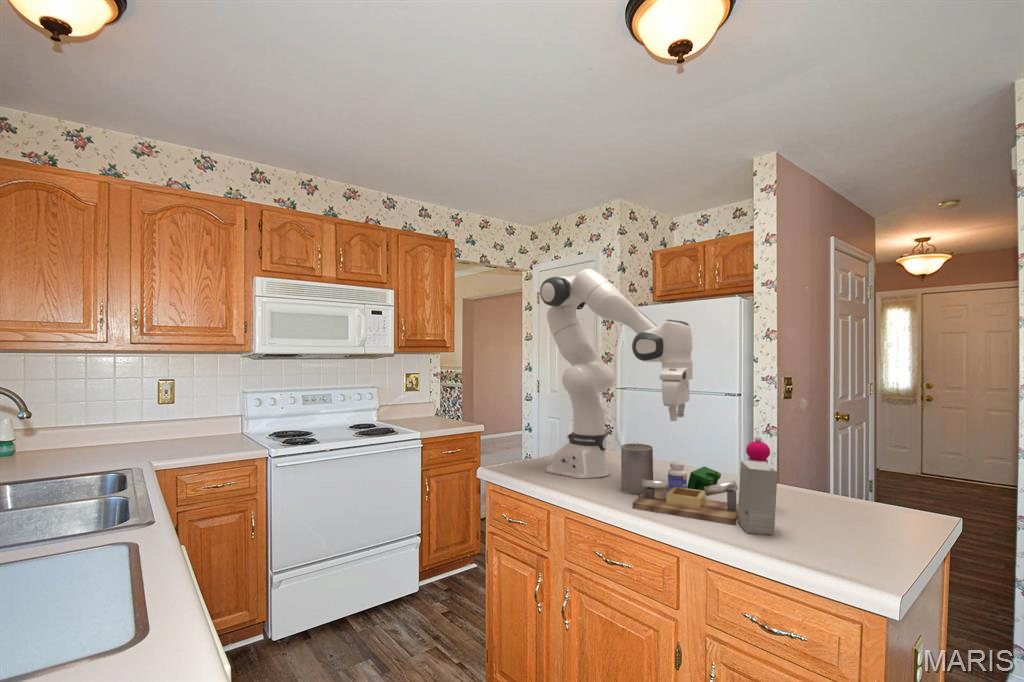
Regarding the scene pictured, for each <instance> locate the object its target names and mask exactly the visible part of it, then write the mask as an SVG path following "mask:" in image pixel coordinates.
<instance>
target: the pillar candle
mask: <svg viewBox="0 0 1024 682" xmlns="http://www.w3.org/2000/svg"><path fill="white" fill-rule="evenodd" d="M620 449H621V450H620V455H621V459H620V461H621V463H620V465H621V470H620V471H621V472H620V473H621V477H620V478H621V479H620V480H621V481H620V482H621V483H620V485H621V491H622V490H623V491H625V492H624V493H626V492H628V493H627V494H629V493H632V494H631V495H642V494H643V493H644V492H645V491H646V488H645V487H642V480H643V479H650V480H654V455H653V452H654V449H653V446H652V445H649V444H645V443H644V444H643V443H638V442H636V443H625V444H622V445H621V447H620ZM623 491H622V492H623Z"/></svg>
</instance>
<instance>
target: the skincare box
mask: <svg viewBox="0 0 1024 682" xmlns="http://www.w3.org/2000/svg"><path fill="white" fill-rule="evenodd" d="M739 471H740V472H739V488H738V490H739V492H738V503H737V504H738V519H737V523H738V524H739V525H740V526H741V528H742V529H743V530H744V532H746V533H747V534H757V535H767V534H772V535H771V536H774V535H775V526H776V523H775V522H776V508H777V507H776V506H777V492H778V491H777V488H778V474H779V473H778V470H777V469H775V468H774V466H773V465H771V464H769V462H768V463H766V462H756V461H749V460H743V459H742V460H740V470H739Z"/></svg>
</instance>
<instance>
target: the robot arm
mask: <svg viewBox="0 0 1024 682" xmlns="http://www.w3.org/2000/svg"><path fill="white" fill-rule="evenodd" d="M539 294H540V298H541V300H542V302H543V303H544V304H546V305H547V306H549V309H548V310H547V312H546V320H547V323H548V326H549V329H550V332H551V336H553V339H554V342H555V344H556V346H557V348H558V351H559V352H560V355H561V356H562V358H564V359H565V360H566V361H567V362H568V363H569V364H570V365H571V366H569V367H568V368H566V369H565V370H564V372H563V374H562V379H561V382H562V386H563V387H564V389H565V391H567V393H568V395H569V399H570V403H571V406H572V414H573V416H572V417H573V431H572V432H571V433H569V434H567V435H566V438H567V439H568V442H567V443H566V444H565V445H563V446H562V447H560V448H559V449H558V450H556V452H554V455H553V458H552V463H551V464H550V465H548V466H546V468H545V472H546V473H551V474H555V475H560V474H561V475H560V476H564V475H565V477H569V476H571V477H570V478H574V477H575V479H588V478H592V479H593V478H601V477H603V478H604V477H607V476H609V475H610V470H609V466H608V460H607V455H606V454H607V452H606V450H607V434H606V413H605V410H604V408H603V407H602V405H601V402H600V397H599V394H601V393H604V392H605V391H608V389H610V388H611V387H612V386H613V384H614V382H615V373H614V371H613V369H612V368H611V367H610V366H608V365H607V364H606V363H605V362H604V361H603V359H602V358H601V356H600V355H599V354H598V353H597V351H596V350H595V349H594V347H593V345H591V343H590V341H589V339H588V337H587V335H586V333H585V330H584V328H583V327H582V324H581V323H580V321H579V319H578V316H577V310H582V309H583V308H584V306H585V305H586V306H587V307H588V308H589V309H590V310H591V311H592V312H594V314H596V315H598V317H600V318H602V319H606V320H609V321H613V322H618V323H620V324H623V325H625V326H627V327H629V328H630V329H631V330H632V331H633V332H634V333H636V335H635V336H634V338H633V340H632V344H631V349H632V353H633V355H634V356H635V358H636V359H637V360H639V361H641V362H646V363H649V362H650V363H651V362H652V363H655V362H658V363H661V370H660V373H659V380H660V381H661V396H662V403H663V406H664V407H668V413H669V421H671V422H676V421H678V418H684V417H685V408H686V403H687V402H690V398H691V395H690V380H692V379H693V378H694V377H693V360H692V351H693V336H692V335H693V334H692V329H691V325H690V324H689V323H688V322H686V321H682V320H676V319H665V320H663V322H661V323H660V324H659V325H657V324H656V323H654V322H653V321H652V320H651V319H649V317H647V315H645V314H644V313H643V312H642V311H640V310H639V309H638V308H637V307H636V306H634V304H633V303H632V302H630V301H629V300H628V298H626V297H625V296H624V295H623V294H622V293H621V292H620V290H619V289H618V288H617V287H616V286H615V285H614V284H613V283H611V282H610V281H609V279H607V278H606V277H605V276H603V275H602V274H600V273H599V272H598V271H596V270H595V269H592V268H585V269H582V270H580V271H579V272H578V273H577V274H576V275H561V276H552V277H549V278H548V277H547V279H545V280H544V281H542V283H541V286H540V290H539Z"/></svg>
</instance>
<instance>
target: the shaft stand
mask: <svg viewBox="0 0 1024 682" xmlns="http://www.w3.org/2000/svg"><path fill="white" fill-rule="evenodd" d="M642 487H645V488H646V491H645V492H644V493H643V494H640V495H639V496H638V497H637V498H636V499H635V500H634V501H633V502H632V503H631V504H632V509H635V508H637V509H636V510H641V509H644V510H643V511H647V510H650V511H649V512H653V511H656V512H655V513H659V512H661V513H660V514H665V513H667V514H666V515H671V514H672V515H673V516H677V515H678V516H679V517H683V516H684V517H683V518H689V517H690V519H695V518H696V520H702V521H708V522H713V523H722V524H725V523H726V524H727V525H732V526H736V523H737V522H738V520H737V519H738V503H737V491H738V490H739V488H738V485H737V482H736V480H730V481H726V482H722V483H717V484H716V485H711V486H707V487H704V490H702V489H697V490H695V489H688V488H681V487H673V488H672V489H671V490H670V491H669V492H668V489H669V482H668V481H663V480H657V479H653V480H650V479H643V480H642ZM655 490H660V491H666V492H667V493H666V492H659V491H655ZM723 493H726V501H723V500H722V501H721V500H713V499H707V497H709V496H715V495H719V494H723ZM678 516H677V517H678Z"/></svg>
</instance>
